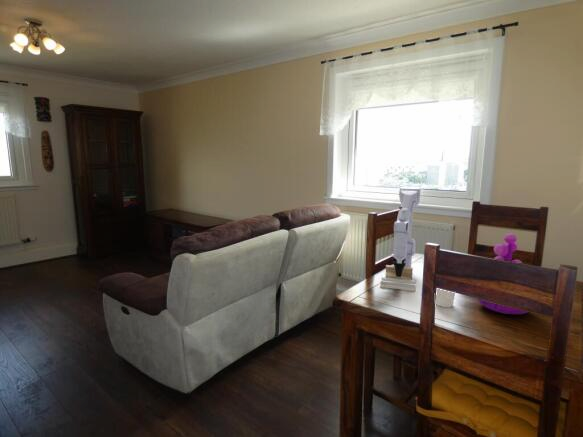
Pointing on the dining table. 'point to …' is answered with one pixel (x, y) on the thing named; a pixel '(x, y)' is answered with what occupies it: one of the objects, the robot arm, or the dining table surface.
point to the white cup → (444, 298)
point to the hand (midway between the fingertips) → (398, 274)
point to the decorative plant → (502, 251)
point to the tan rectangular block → (405, 275)
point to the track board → (398, 284)
